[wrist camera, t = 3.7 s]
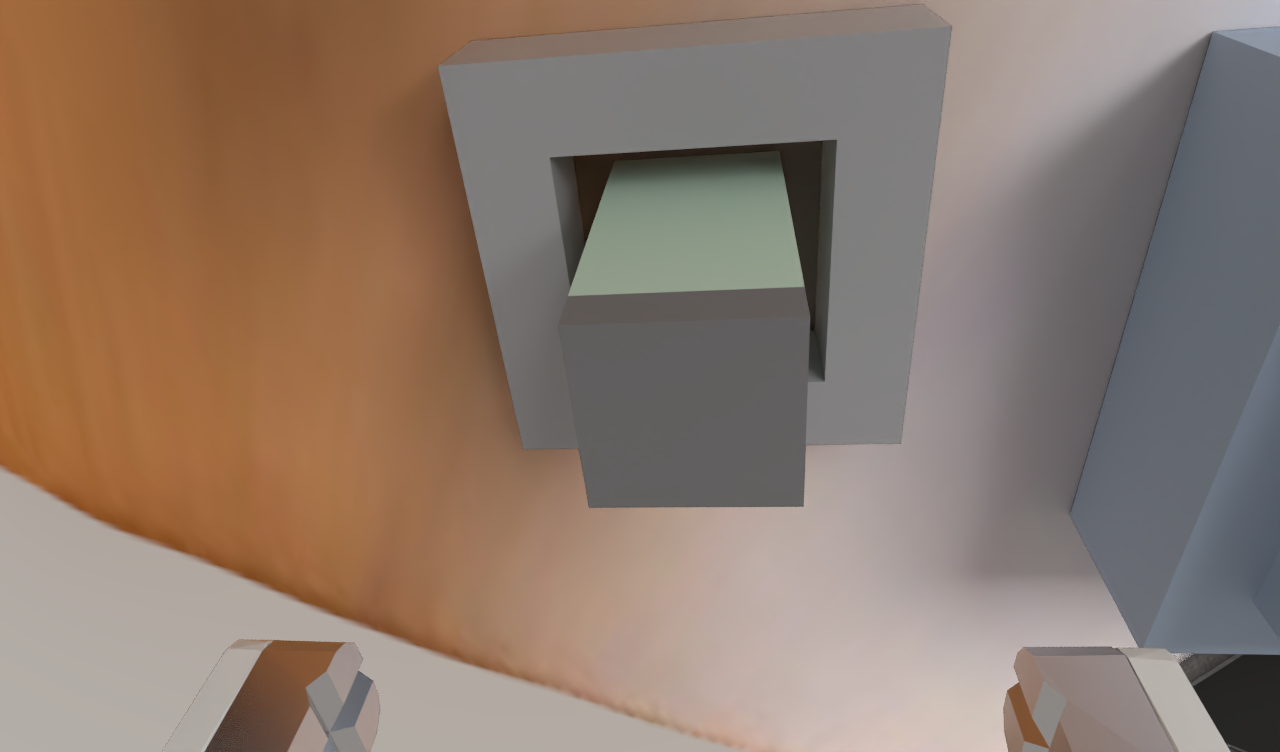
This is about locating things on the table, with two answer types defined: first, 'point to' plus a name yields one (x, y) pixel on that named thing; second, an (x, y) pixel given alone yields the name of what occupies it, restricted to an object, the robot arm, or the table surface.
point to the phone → (1239, 697)
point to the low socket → (701, 118)
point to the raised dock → (1201, 383)
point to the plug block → (690, 337)
